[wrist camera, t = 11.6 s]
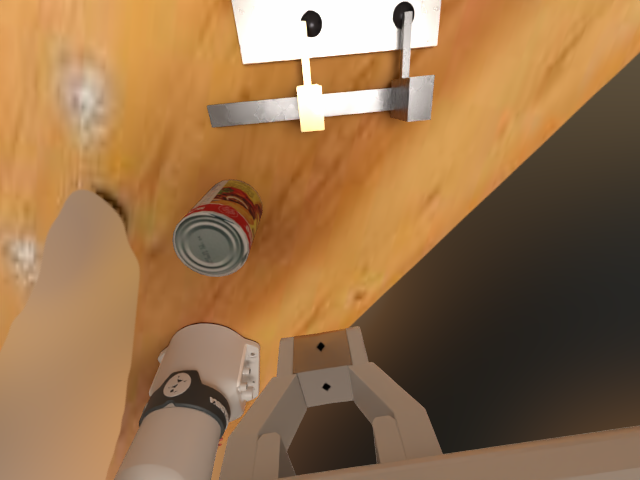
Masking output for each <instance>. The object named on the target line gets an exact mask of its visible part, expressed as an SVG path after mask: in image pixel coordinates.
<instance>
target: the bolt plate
mask: <svg viewBox="0 0 640 480" xmlns="http://www.w3.org/2000/svg"><path fill="white" fill-rule="evenodd" d="M232 5H233V11H234V16H235V22H236V27H237V33H238V38H239V44H240V49H241V55H242V60H243V64H244V65H249V64H259V63H270V62H280V61H291V60H302V59H301V49H300V39H299V29H298V22H301V21H306V30H307V42H308V53H309V59H312V58H323V57H333V56H344V55H355V54H365V53H376V52H386V51H397V50H401V36H402V14H403V13H404V12H409V11H413V13H412V31H411V49H418V48H429V47H434V46H437V40H438V29H439V18H440V7H441V0H232Z"/></svg>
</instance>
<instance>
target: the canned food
mask: <svg viewBox="0 0 640 480" xmlns="http://www.w3.org/2000/svg"><path fill="white" fill-rule="evenodd" d="M261 215H262V202H261V198H260V197H259V195H258V193H257V192H256V191H255V190H254V189H253V188H252V187H251V186H250V185H248V184H246V183H245V182H242V181H238V180H225V181H221V182H219V183H217V184H216V185H215V186H214V187H213V188H212V189H211V190H210V191H209V192H208V193H207V194H206V195H205V196H204V197H203V198H202V199H201V200H200V201H199V202H198V203H197V204H196V205H195V206H194V207H193V208H192V210H191V211H190V212H189V213H188V214H187V215H186V216H185V217H184V218H183V219H182V220H181V221H180V222H179V223H178V224H177V226H176V228H175V230H174V233H173V246H174V250H175V252H176V254H177V256H178V257H179V259H180V260H181V261H182V262H183V263H184V264H185V265H186V266H187V267H189V268H190V269H191V270H193V271H195V272H197V273H199V274H202V275H207V276H215V277H220V276H225V275H229V274H232V273H234V272H236V271H237V270H238V269H240V268H241V267H242V266H243V265H244V263H245V262H246V260H247V258H248V255H249V252H250V249H251V245H252V242H253V239H254V236H255V233H256V230H257V227H258V224H259V221H260V218H261Z"/></svg>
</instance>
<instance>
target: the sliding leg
mask: <svg viewBox="0 0 640 480" xmlns="http://www.w3.org/2000/svg"><path fill="white" fill-rule="evenodd" d="M298 29H299V39H300V49H301V59H302V70H303V80H304V86H297V97H298V106H299V115H300V124H301V132H308V131H318V130H325V129H324V115H323V102H322V88H321V86H318V84H314V85H311V76H310V65H309V53H308V42H307V30H306V21H301V22H298Z"/></svg>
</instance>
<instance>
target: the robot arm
mask: <svg viewBox="0 0 640 480" xmlns="http://www.w3.org/2000/svg"><path fill="white" fill-rule="evenodd" d="M158 361H159V362H160V366H159V368H158V371H157V373H156V375H155V378H154V380H153V383H152V385H151V388H150V391H149V396H150V399H149V401H148V403H147V404H146V406H145V408H144V410H143V413H142V416H141V418H140V421H139V429H138V431H137V433H136V435H135V438H134V440H133V442H132V444H131V446H130V448H129V450H128V452H127V454H126V456H125V458H124V460H123V462H122V464H121V466H120V468H119V470H118V472H117V474H116V476H115V479H114V480H211V475H212V471H213V466H214V461H215V457H216V452H217V448H218V446H221V445H222V444H218V443H219V441H221V440H223V438H221V437H222V436H223V434H224V431H225V430H226V428H227V426H228V422H231V421H233V420H235V419H237V418H239V417H240V416H241V415H242V414H243V413H244V409H245V404H246V402H247V401H250V400H252V399H254V398H256V397H257V396H258V394H259V381H260V345H259V344H258V343H256V342H254V341H251V340H248V339H245V338H243V337H241V336H240V335H239V334H237V333H236V332H234V331H233V330H231V329H229V328H226V327H224V326H220V325H216V324H195V325H190V326H187V327H185V328H183V329H181V330H180V331H178V332H177V333H176V334H175V335H174V336H173V338H172V339H171V342H170V344H169V346H168V347H167V348H166V349H164V350H163V351H162V352H161V353H160V354H159V357H158ZM352 400H354V402H355V404H356V405H357V406H358V407H359V409H360V410H361V411H362V412H363V414H364V415H365V416H366V418H367V419H368V420H369V421H370V423H371V424H372V425H373V432H374V441H375V449H376V458H377V464H373V465H366V466H359V467H352V468H346V469H339V470H333V471H325V472H318V473H312V474H306V475H298V476H296V475H295V472H294V469H293V467H292V464H291V462H290V459H289V457H288V454H287V450H288V447H289V445H290V443H291V441H292V439H293V437H294V435H295V433H296V431H297V429H298V426H299V425H300V422H301V420H302V418H303V416H304V414H305V412H306V410H307V408H306V407H312V406H317V405H322V404H328V403H336V402H344V401H352ZM219 480H640V426H634V427H627V428H620V429H613V430H606V431H599V432H593V433H586V434H579V435H572V436H565V437H558V438H551V439H545V440H538V441H531V442H524V443H517V444H511V445H505V446H497V447H490V448H484V449H477V450H470V451H463V452H456V453H449V454H443V453H442V451H441V448H440V446H439V444H438V441H437V438H436V436H435V433H434V431H433V428H432V426H431V423H430V421H429V418H428V415H427V413H426V410H425V408H423V407H422V406H421V405H420V404H419V403H418V402H417V401H416V400H414V399H413V398H412V397H411V396H410V395H409V394H408V393H406V391H404V390H403V389H402V388H401V387H400V386H399V385H398V384H396V383H395V382H394V381H393V380H392V379H391V378H390V377H389V376H388V375H386V374H385V373H384V372H383V371H382V370H381V369H380V368H379V367H378V366H376V365H375V364H374V363H373V362H371V363H369V362H368V358H367V354H366V350H365V346H364V342H363V338H362V334H361V330H360V328H359V326H358V327H352V328H346V329H340V330H334V331H328V332H322V333H317V334H309V335H302V336H294V337H289V338H281V340H280V346H279V356H278V367H277V377H273V378H272V379H271V380H270V382H269V383H268V384H267V386H266V387H265V389H264V390H263V391H262V393H261V394H260V395H259V397H258V398H257V399H256V401H255V402H254V404H253V405H252V406H251V408H250V409H249V410H248V412H247V413H246V414H245V416H244V417H243V418H242V420H241V421H240V423H239V424H238V425H237V427H236V428H235V429H234V431H233V432H232V433H231V435H230V436H229V437H228V441H227V446H226V450H225V455H224V459H223V464H222V468H221V473H220V477H219Z"/></svg>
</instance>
